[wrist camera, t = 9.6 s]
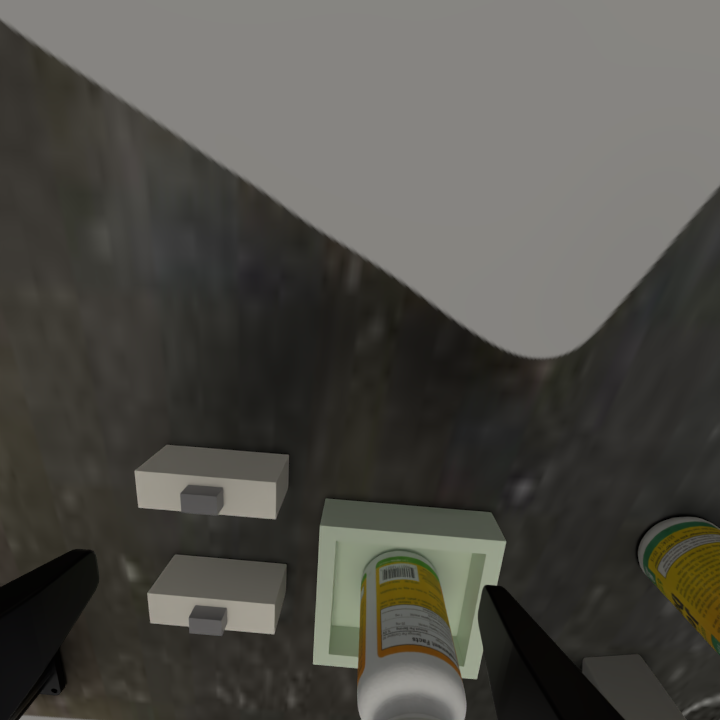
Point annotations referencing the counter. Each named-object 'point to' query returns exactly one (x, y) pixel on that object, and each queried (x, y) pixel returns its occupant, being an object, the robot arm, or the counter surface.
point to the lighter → (630, 687)
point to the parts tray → (411, 534)
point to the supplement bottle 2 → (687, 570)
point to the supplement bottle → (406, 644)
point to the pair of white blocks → (206, 574)
